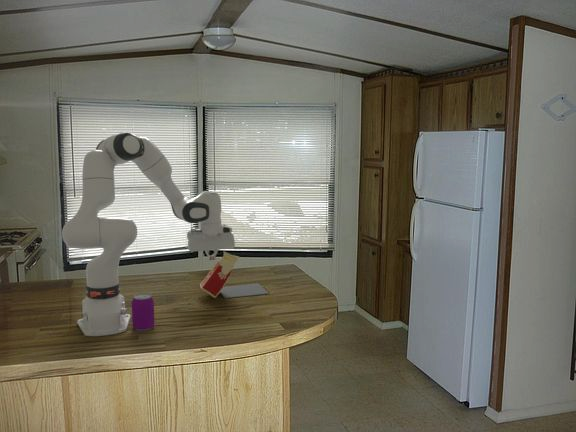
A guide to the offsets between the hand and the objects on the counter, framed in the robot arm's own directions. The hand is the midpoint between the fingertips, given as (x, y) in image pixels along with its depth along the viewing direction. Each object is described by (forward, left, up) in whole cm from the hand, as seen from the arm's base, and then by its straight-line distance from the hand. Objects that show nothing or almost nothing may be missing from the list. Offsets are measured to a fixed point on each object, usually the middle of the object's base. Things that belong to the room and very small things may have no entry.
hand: (211, 259), depth 228 cm
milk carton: (-2, +2, -13) cm, 13 cm away
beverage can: (-32, +32, -16) cm, 48 cm away
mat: (-1, -14, -15) cm, 20 cm away
